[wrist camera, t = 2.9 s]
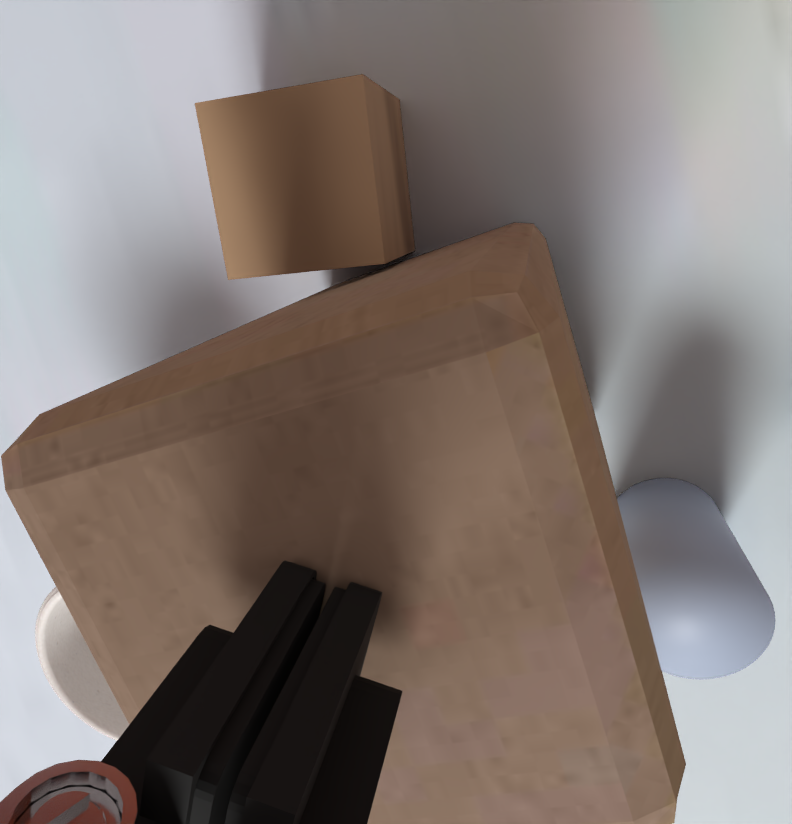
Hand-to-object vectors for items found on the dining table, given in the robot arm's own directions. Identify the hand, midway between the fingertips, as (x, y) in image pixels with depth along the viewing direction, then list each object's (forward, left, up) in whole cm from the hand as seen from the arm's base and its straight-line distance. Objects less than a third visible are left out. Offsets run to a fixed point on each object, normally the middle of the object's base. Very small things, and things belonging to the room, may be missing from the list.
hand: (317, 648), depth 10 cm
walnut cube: (+7, -6, -20) cm, 22 cm away
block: (0, 0, -20) cm, 20 cm away
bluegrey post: (-11, +5, -20) cm, 23 cm away
